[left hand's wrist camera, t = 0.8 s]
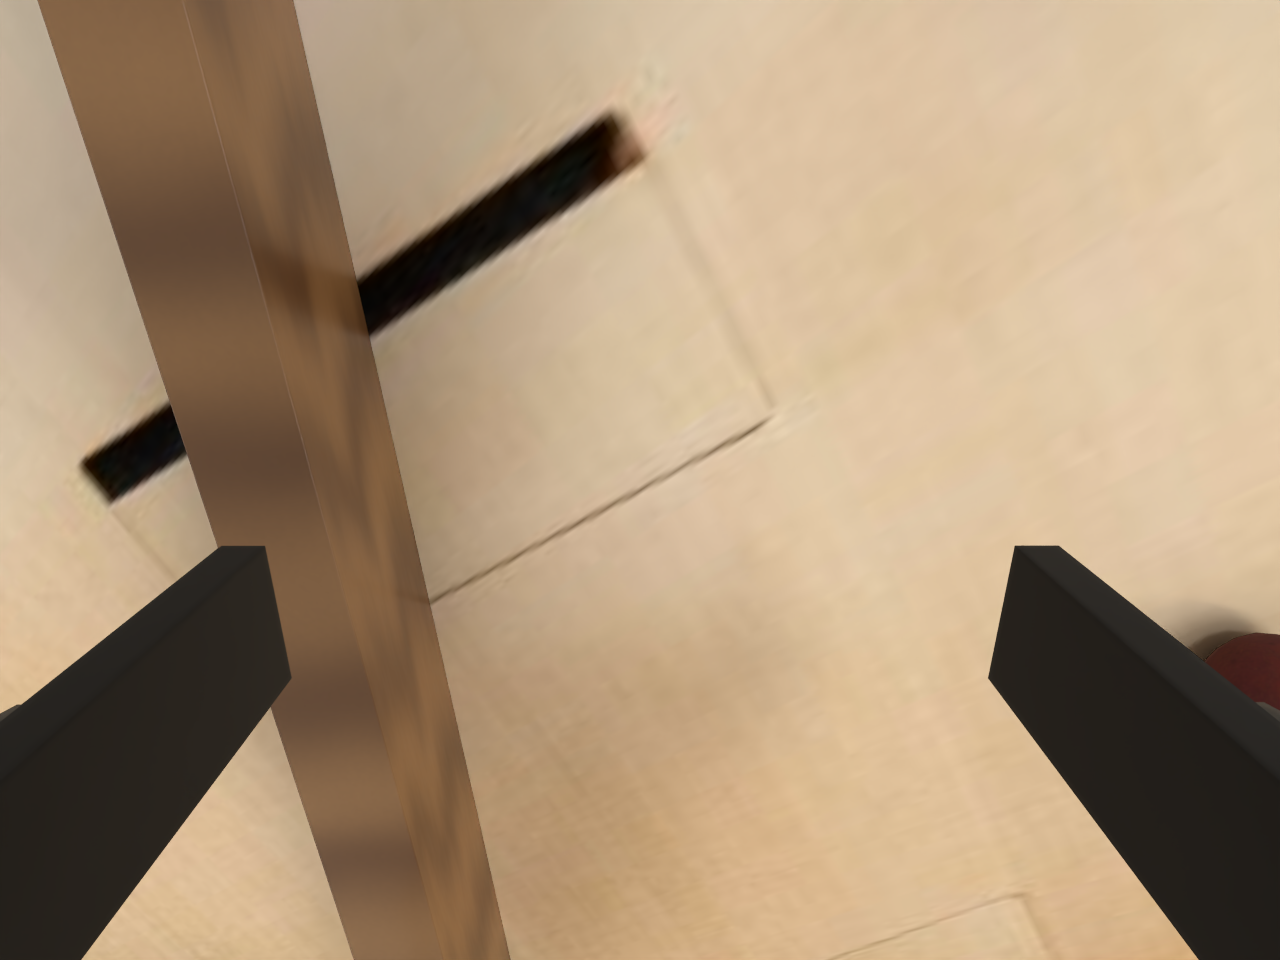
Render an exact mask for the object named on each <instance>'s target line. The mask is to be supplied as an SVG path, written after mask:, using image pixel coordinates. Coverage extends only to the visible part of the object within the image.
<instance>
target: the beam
mask: <svg viewBox="0 0 1280 960" xmlns="http://www.w3.org/2000/svg"><path fill="white" fill-rule="evenodd" d="M38 3H39V6H40V9H41V12H42V15H43V18H44V21H45V24H46V27H47V30H48V34H49V37H50V40H51V43H52V46H53V49H54V52H55V55H56V58H57V61H58V64H59V67H60V70H61V73H62V76H63V79H64V82H65V85H66V88H67V91H68V94H69V97H70V100H71V103H72V106H73V109H74V112H75V115H76V118H77V121H78V124H79V128H80V131H81V134H82V137H83V140H84V143H85V146H86V149H87V152H88V155H89V158H90V161H91V164H92V167H93V170H94V173H95V176H96V179H97V182H98V185H99V188H100V191H101V194H102V197H103V200H104V203H105V206H106V209H107V212H108V215H109V218H110V222H111V225H112V228H113V231H114V234H115V237H116V240H117V243H118V246H119V249H120V252H121V255H122V258H123V261H124V264H125V267H126V270H127V273H128V276H129V279H130V282H131V285H132V288H133V291H134V294H135V297H136V300H137V303H138V306H139V309H140V312H141V316H142V319H143V322H144V325H145V328H146V331H147V334H148V337H149V340H150V343H151V346H152V349H153V352H154V355H155V358H156V361H157V364H158V367H159V370H160V373H161V376H162V379H163V382H164V385H165V388H166V391H167V394H168V397H169V400H170V403H171V406H172V410H173V413H174V416H175V419H176V422H177V425H178V428H179V431H180V434H181V437H182V440H183V443H184V446H185V449H186V452H187V455H188V458H189V461H190V464H191V467H192V470H193V473H194V476H195V479H196V482H197V485H198V488H199V491H200V494H201V497H202V500H203V503H204V507H205V510H206V513H207V516H208V519H209V522H210V525H211V528H212V531H213V534H214V537H215V540H216V543H217V546H218V548H219V547H220V546H265V548H266V553H267V558H268V563H269V568H270V573H271V578H272V582H273V587H274V592H275V597H276V602H277V607H278V612H279V617H280V622H281V627H282V632H283V637H284V642H285V647H286V652H287V657H288V662H289V667H290V672H291V676H292V679H291V680H290V681H289V683H288V684H287V685H286V687H285V688H284V689H283V691H282V692H281V693H280V695H279V696H278V697H277V699H276V700H275V701H274V703H273V704H272V705H271V710H272V713H273V716H274V719H275V722H276V725H277V728H278V731H279V734H280V737H281V740H282V743H283V746H284V749H285V752H286V755H287V758H288V761H289V764H290V767H291V770H292V773H293V776H294V779H295V782H296V785H297V789H298V792H299V795H300V798H301V801H302V804H303V807H304V810H305V813H306V816H307V819H308V822H309V825H310V828H311V831H312V834H313V837H314V840H315V843H316V846H317V849H318V852H319V855H320V858H321V861H322V864H323V867H324V870H325V873H326V876H327V879H328V882H329V886H330V889H331V892H332V895H333V898H334V901H335V904H336V907H337V910H338V913H339V916H340V919H341V922H342V925H343V928H344V931H345V934H346V937H347V940H348V943H349V946H350V949H351V952H352V955H353V958H354V960H510V956H509V952H508V948H507V943H506V939H505V934H504V930H503V925H502V921H501V917H500V912H499V908H498V903H497V899H496V895H495V890H494V886H493V881H492V877H491V873H490V868H489V864H488V859H487V855H486V850H485V846H484V842H483V837H482V833H481V828H480V824H479V820H478V815H477V811H476V806H475V802H474V798H473V793H472V789H471V784H470V780H469V775H468V771H467V767H466V762H465V758H464V753H463V749H462V745H461V740H460V736H459V731H458V727H457V723H456V718H455V714H454V709H453V705H452V700H451V696H450V692H449V687H448V683H447V678H446V674H445V670H444V665H443V661H442V656H441V652H440V648H439V643H438V639H437V634H436V630H435V625H434V621H433V617H432V612H431V608H430V603H429V599H428V595H427V590H426V586H425V581H424V577H423V573H422V568H421V564H420V559H419V555H418V550H417V546H416V542H415V537H414V533H413V528H412V524H411V520H410V515H409V511H408V506H407V502H406V498H405V493H404V489H403V484H402V480H401V475H400V471H399V467H398V462H397V458H396V453H395V449H394V445H393V440H392V436H391V431H390V427H389V423H388V418H387V414H386V409H385V405H384V400H383V396H382V392H381V387H380V383H379V378H378V374H377V370H376V365H375V361H374V356H373V352H372V348H371V343H370V339H369V334H368V330H367V325H366V321H365V317H364V312H363V308H362V303H361V299H360V295H359V290H358V286H357V281H356V277H355V273H354V268H353V264H352V259H351V255H350V250H349V246H348V242H347V237H346V233H345V228H344V224H343V220H342V215H341V211H340V206H339V202H338V198H337V193H336V189H335V184H334V180H333V175H332V171H331V167H330V162H329V158H328V153H327V149H326V145H325V140H324V136H323V131H322V127H321V123H320V118H319V114H318V109H317V105H316V100H315V96H314V92H313V87H312V83H311V78H310V74H309V70H308V65H307V61H306V56H305V52H304V47H303V43H302V39H301V34H300V30H299V25H298V21H297V17H296V12H295V8H294V3H293V0H38Z"/></svg>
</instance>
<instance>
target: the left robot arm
mask: <svg viewBox="0 0 1280 960" xmlns="http://www.w3.org/2000/svg"><path fill="white" fill-rule="evenodd" d="M291 679H292V676H291V672H290V667H289V662H288V657H287V652H286V647H285V642H284V637H283V632H282V627H281V622H280V617H279V612H278V607H277V602H276V597H275V592H274V587H273V582H272V578H271V573H270V568H269V563H268V558H267V553H266V548H265V546H220V547H219V548H218V549H217V550H215V551H214V552H213V553H212V554H210V555H209V556H208V557H207V558H205V559H204V560H203V561H202V562H200V563H199V564H198V565H197V566H195V567H194V568H193V569H191V570H190V571H189V572H188V573H186V574H185V575H184V576H183V577H181V578H180V579H179V580H178V581H176V582H175V583H174V584H173V585H171V586H170V587H169V588H168V589H166V590H165V591H164V592H163V593H161V594H160V595H159V596H158V597H156V598H155V599H154V600H153V601H151V602H150V603H149V604H147V605H146V606H145V607H144V608H142V609H141V610H140V611H139V612H137V613H136V614H135V615H134V616H132V617H131V618H130V619H129V620H127V621H126V622H125V623H124V624H122V625H121V626H120V627H119V628H117V629H116V630H115V631H114V632H112V633H111V634H110V635H109V636H107V637H106V638H105V639H104V640H102V641H101V642H100V643H98V644H97V645H96V646H95V647H93V648H92V649H91V650H90V651H88V652H87V653H86V654H85V655H83V656H82V657H81V658H80V659H78V660H77V661H76V662H75V663H73V664H72V665H71V666H70V667H68V668H67V669H66V670H65V671H63V672H62V673H61V674H60V675H58V676H57V677H56V678H54V679H53V680H52V681H51V682H49V683H48V684H47V685H46V686H44V687H43V688H42V689H41V690H39V691H38V692H37V693H36V694H34V695H33V696H32V697H31V698H29V699H28V700H27V701H26V702H24V703H23V704H22V705H16V706H14V707H12V708H10V709H8V710H6V711H4V712H2V713H1V714H0V960H81V959H82V958H83V957H84V955H85V954H86V953H87V951H88V950H89V949H90V947H91V946H92V945H93V943H94V942H95V941H96V939H97V938H98V937H99V935H100V934H101V933H102V931H103V930H104V929H105V927H106V926H107V925H108V923H109V922H110V921H111V919H112V918H113V917H114V915H115V914H116V913H117V911H118V910H119V908H120V907H121V906H122V904H123V903H124V902H125V900H126V899H127V898H128V896H129V895H130V894H131V892H132V891H133V890H134V888H135V887H136V886H137V884H138V883H139V882H140V880H141V879H142V878H143V876H144V875H145V874H146V872H147V871H148V870H149V868H150V867H151V866H152V864H153V863H154V862H155V860H156V859H157V858H158V856H159V855H160V854H161V852H162V851H163V850H164V848H165V847H166V846H167V844H168V843H169V842H170V840H171V839H172V838H173V836H174V835H175V834H176V832H177V831H178V830H179V828H180V827H181V826H182V824H183V823H184V822H185V820H186V819H187V818H188V816H189V815H190V814H191V812H192V811H193V810H194V808H195V807H196V806H197V804H198V803H199V802H200V800H201V799H202V798H203V796H204V795H205V794H206V792H207V791H208V790H209V788H210V787H211V786H212V784H213V783H214V781H215V780H216V779H217V777H218V776H219V775H220V773H221V772H222V771H223V769H224V768H225V767H226V765H227V764H228V763H229V761H230V760H231V759H232V757H233V756H234V755H235V753H236V752H237V751H238V749H239V748H240V747H241V745H242V744H243V743H244V741H245V740H246V739H247V737H248V736H249V735H250V733H251V732H252V731H253V729H254V728H255V727H256V725H257V724H258V723H259V721H260V720H261V719H262V717H263V716H264V715H265V713H266V712H267V711H268V709H269V708H270V707H271V705H272V704H273V703H274V701H275V700H276V699H277V697H278V696H279V695H280V693H281V692H282V691H283V689H284V688H285V687H286V685H287V684H288V683H289V681H290V680H291ZM988 679H989V680H990V681H991V683H992V684H993V685H994V687H995V688H996V689H997V691H998V692H999V693H1000V695H1001V696H1002V697H1003V699H1004V700H1005V701H1006V703H1007V704H1008V705H1009V707H1010V708H1011V709H1012V711H1013V712H1014V713H1015V715H1016V716H1017V717H1018V719H1019V720H1020V721H1021V723H1022V724H1023V725H1024V727H1025V728H1026V729H1027V731H1028V732H1029V733H1030V735H1031V736H1032V737H1033V739H1034V740H1035V741H1036V743H1037V744H1038V745H1039V747H1040V748H1041V749H1042V751H1043V752H1044V753H1045V755H1046V756H1047V757H1048V759H1049V760H1050V761H1051V763H1052V764H1053V765H1054V767H1055V768H1056V769H1057V771H1058V772H1059V773H1060V775H1061V776H1062V777H1063V779H1064V780H1065V781H1066V783H1067V784H1068V786H1069V787H1070V788H1071V790H1072V791H1073V792H1074V794H1075V795H1076V796H1077V798H1078V799H1079V800H1080V802H1081V803H1082V804H1083V806H1084V807H1085V808H1086V810H1087V811H1088V812H1089V814H1090V815H1091V816H1092V818H1093V819H1094V820H1095V822H1096V823H1097V824H1098V826H1099V827H1100V828H1101V830H1102V831H1103V832H1104V834H1105V835H1106V836H1107V838H1108V839H1109V840H1110V842H1111V843H1112V844H1113V846H1114V847H1115V848H1116V850H1117V851H1118V852H1119V854H1120V855H1121V856H1122V858H1123V859H1124V860H1125V862H1126V863H1127V864H1128V866H1129V867H1130V868H1131V870H1132V871H1133V872H1134V874H1135V875H1136V876H1137V878H1138V879H1139V880H1140V882H1141V883H1142V884H1143V886H1144V887H1145V888H1146V890H1147V891H1148V892H1149V894H1150V895H1151V896H1152V898H1153V899H1154V900H1155V902H1156V903H1157V904H1158V906H1159V907H1160V909H1161V910H1162V911H1163V913H1164V914H1165V915H1166V917H1167V918H1168V919H1169V921H1170V922H1171V923H1172V925H1173V926H1174V927H1175V929H1176V930H1177V931H1178V933H1179V934H1180V935H1181V937H1182V938H1183V939H1184V941H1185V942H1186V943H1187V945H1188V946H1189V947H1190V949H1191V950H1192V951H1193V953H1194V954H1195V955H1196V957H1197V958H1198V959H1199V960H1280V710H1278V709H1276V708H1274V707H1272V706H1270V705H1268V704H1266V703H1264V702H1254V701H1253V700H1252V699H1251V698H1249V697H1248V696H1247V695H1246V694H1244V693H1243V692H1242V691H1241V690H1239V689H1238V688H1237V687H1236V686H1234V685H1233V684H1232V683H1231V682H1229V681H1228V680H1227V679H1226V678H1224V677H1223V676H1222V675H1220V674H1219V673H1218V672H1217V671H1215V670H1214V669H1213V668H1212V667H1210V666H1209V665H1208V664H1207V663H1205V662H1204V661H1203V660H1202V659H1200V658H1199V657H1198V656H1197V655H1195V654H1194V653H1193V652H1192V651H1190V650H1189V649H1188V648H1187V647H1185V646H1184V645H1183V644H1182V643H1180V642H1179V641H1178V640H1176V639H1175V638H1174V637H1173V636H1171V635H1170V634H1169V633H1168V632H1166V631H1165V630H1164V629H1163V628H1161V627H1160V626H1159V625H1158V624H1156V623H1155V622H1154V621H1153V620H1151V619H1150V618H1149V617H1148V616H1146V615H1145V614H1144V613H1143V612H1141V611H1140V610H1139V609H1138V608H1136V607H1135V606H1134V605H1133V604H1131V603H1130V602H1129V601H1127V600H1126V599H1125V598H1124V597H1122V596H1121V595H1120V594H1119V593H1117V592H1116V591H1115V590H1114V589H1112V588H1111V587H1110V586H1109V585H1107V584H1106V583H1105V582H1104V581H1102V580H1101V579H1100V578H1099V577H1097V576H1096V575H1095V574H1094V573H1092V572H1091V571H1090V570H1089V569H1087V568H1086V567H1085V566H1083V565H1082V564H1081V563H1080V562H1078V561H1077V560H1076V559H1075V558H1073V557H1072V556H1071V555H1070V554H1068V553H1067V552H1066V551H1065V550H1063V549H1062V548H1061V547H1060V546H1015V548H1014V553H1013V558H1012V563H1011V568H1010V573H1009V578H1008V582H1007V587H1006V592H1005V597H1004V602H1003V607H1002V612H1001V617H1000V622H999V627H998V632H997V637H996V642H995V647H994V652H993V657H992V662H991V667H990V672H989V676H988Z"/></svg>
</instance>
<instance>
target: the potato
mask: <svg viewBox="0 0 1280 960" xmlns="http://www.w3.org/2000/svg"><path fill="white" fill-rule="evenodd" d="M1205 663H1207V664H1208V665H1209V666H1210V667H1212V668H1213V669H1214V670H1215V671H1217V672H1218V673H1219V674H1220V675H1222V676H1223V677H1224V678H1226V679H1227V680H1228V681H1229V682H1231V683H1232V684H1233V685H1234V686H1236V687H1237V688H1238V689H1239V690H1241V691H1242V692H1243V693H1244V694H1246V695H1247V696H1248V697H1249V698H1251V699H1252V700H1253V701H1254V702H1264V703H1266V704H1268V705H1270V706H1272V707H1274V708H1276V709H1278V710H1280V635H1277V634H1265V633H1253V634H1249V635H1245V636H1241V637H1237V638H1234V639H1232V640H1230V641H1229V642H1227V643H1225V644H1223V645H1222V646H1220V647H1218V648H1216V649H1215V650H1214V651H1213V652H1212V653H1211V654H1210V655H1209V656H1208V657H1207V659H1206V661H1205Z"/></svg>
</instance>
